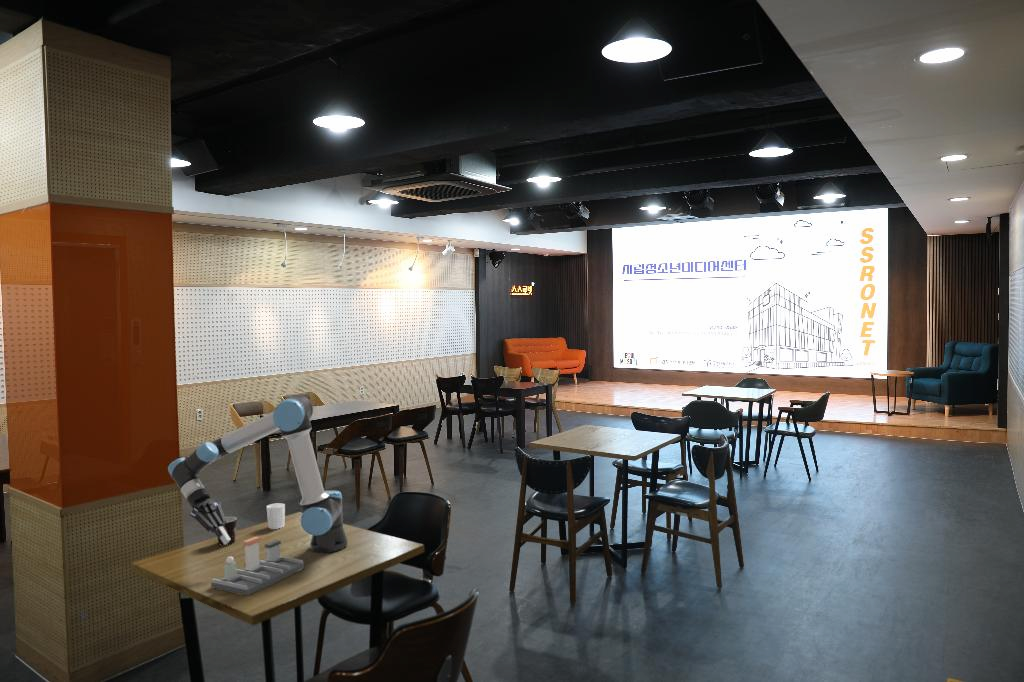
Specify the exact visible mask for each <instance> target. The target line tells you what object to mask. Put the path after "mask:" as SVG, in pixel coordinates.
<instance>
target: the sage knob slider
mask: <svg viewBox="0 0 1024 682" xmlns="http://www.w3.org/2000/svg"><path fill="white" fill-rule="evenodd" d="M225 562H226V564H224V565H223V570H224V572H223V573H224V576H223V577H224V578H222V577H221V578H222V579H221V580H223V581H227V582H234V581H236V580H238V579H240V578H241V577H240V575H237V569H238V568H237V561H235V558H234V557H233V556H231V555H230V556H227V558H226V560H225Z"/></svg>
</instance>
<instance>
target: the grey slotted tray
mask: <svg viewBox="0 0 1024 682" xmlns="http://www.w3.org/2000/svg"><path fill="white" fill-rule="evenodd" d="M280 557H282V560H280V561H278V562H276V563H272V562H267V561H265V560H266V559H267V557H265V558H264V559H259V560H260V566H262V569H260V570H258V571H256V572H250V571H245V570H244V569H245V568H246V566H245V567H242V568H240V569H239V568H237V575H240V577H241V578H240V579H238V580H236V581H234V582H227V581H223V580H221V579H222V578H224V576H222V577H220V578H211V582H210V586H211V587H214V588H213V589H215V588H217V589H216V590H219V589H221V590H220V591H223V592H224V591H225V592H228V591H229V593H234V594H237V595H241V594H242V596H245V597H246V596H250V594H251V595H253V594H254V592H255V593H256V591H257V592H258V591H259V592H260V591H261V590H262V588H263V589H265V588H267V587H269V586H271V585H273V584H276V583H277V582H279V581H281V579H282V580H284V579H285V578H288V577H290V576H292V575H294V574H296V573H298V572H299V571H298V570H300V569H302V568H304V569H305V564H304V560H303V559H299V558H293V557H288V556H282V555H280ZM302 570H303V569H302ZM297 571H298V572H297ZM300 571H301V570H300ZM295 572H296V573H295ZM293 573H294V574H293ZM291 574H292V575H291ZM287 576H288V577H287ZM283 578H284V579H283ZM252 593H253V594H252Z"/></svg>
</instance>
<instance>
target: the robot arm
mask: <svg viewBox="0 0 1024 682" xmlns="http://www.w3.org/2000/svg"><path fill="white" fill-rule="evenodd" d="M313 406H314V405H313V403H312V401H311V400H310V399H309V398H308V397H305V396H303V395H294V396H291V397H289V398H286V399H283V400H281V401H280V402H279V403H278V404H277V405H276V407H275V408H274V409H273V411H272V412H270V413H268V414H266V415H264V416H262V417H260V418H257V419H256V420H253V421H251V422H250V423H248V424H247V423H246V424H245V425H244V426H242V427H240V428H239V427H238V428H237V429H236V430H233V431H231V432H230V433H227V434H224V435H223V436H221V437H219V438H217V439H214V440H213V441H211V442H210V441H204V442H203V443H201V444H200V445H198V446H197V448H195V450H194V451H192V453H190V455H188V457H186V458H185V457H180V458H176V459H175V460H174V461H172V462H171V463H170V464H169V465H168V467H167V471H168V473H169V475H170V477H171V479H172V480H173V481H174V482H175V484H176V486H177V487H178V488H179V490H180V492H181V494H182V495H183V496H184V499H186V501H187V503H188V504H189V505H190V507H191V508H192V510H191V512H190V513H189V516H190V517H192V518H193V519H195V520H196V521H197V522H198V523H199V524H200V525H201V526H202V527H203V528H204V529H205V530H206V531H207V532H210V531H211V533H214V534H215V535H216V537H220V539H221V540H222V542H223V543H224V545H225V544H228V543H229V541H230V540H231V539H230V537H229V536H228V534H227V533H228V532H227V530H226V529H225V527H224V525H225V524H226V522H227V521H226V519H225V517H226V516H225V514H224V511H223V509H222V502H221V501H218V502H215V501H214V500H213V499H211V495H210V494H209V491H208V490H207V489H206V488H205V485H203V483H202V481H201V480H200V479H199V476H198V475H199V474H200V473H201V472H202V471H203V470H204V469H205V468H207V466H209V465H210V464H212V463H214V462H215V461H217V460H220V459H222V458H224V457H226V456H228V455H230V454H231V453H235V452H236V451H238V450H240V449H242V448H243V447H246V446H248V445H250V444H252V443H254V442H256V441H258V440H260V439H262V438H265V437H267V436H269V435H271V434H273V433H275V432H276V431H280V435H281V437H282V438H284V439H286V441H287V444H288V449H289V452H290V457H291V461H292V464H293V467H294V471H295V476H296V479H297V483H298V487H299V491H300V494H301V501H300V502H299V507H300V510H301V516H300V525H301V529H302V530H303V531H304V532H305V533H307V534H309V535H311V539H310V541H309V548H310V551H312V550H313V551H312V552H314V551H315V552H314V553H319V552H327V553H333V552H332V551H334V552H338V551H340V550H339V549H341V550H343V549H342V548H344V547H345V546H347V545H349V539H348V536H347V533H346V531H345V529H344V524H343V523H344V522H343V521H344V519H343V517H344V516H343V496H342V494H343V493H341V491H339V490H325V488H324V485H323V481H322V478H321V473H320V469H319V466H318V461H317V459H316V454H315V450H314V446H313V444H312V439H311V436H310V432H311V431H312V429H313V428H312V423H311V420H310V419H311V418H312V417H313V413H314V407H313ZM347 547H348V546H347ZM344 549H345V548H344ZM337 550H338V551H337Z"/></svg>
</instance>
